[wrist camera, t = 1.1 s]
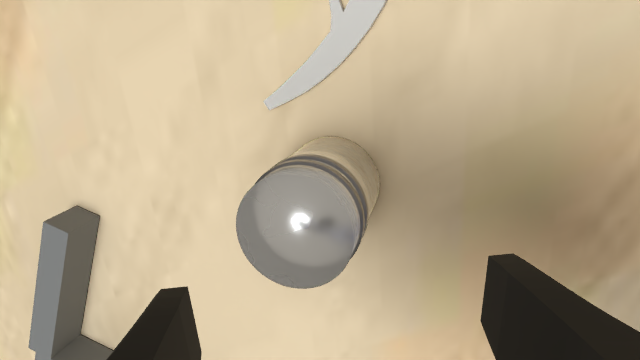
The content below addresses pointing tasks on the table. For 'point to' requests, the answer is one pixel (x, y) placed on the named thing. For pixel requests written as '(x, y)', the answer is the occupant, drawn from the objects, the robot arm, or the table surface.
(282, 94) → the pliers
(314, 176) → the piston
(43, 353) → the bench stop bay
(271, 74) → the table surface
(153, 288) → the table surface
